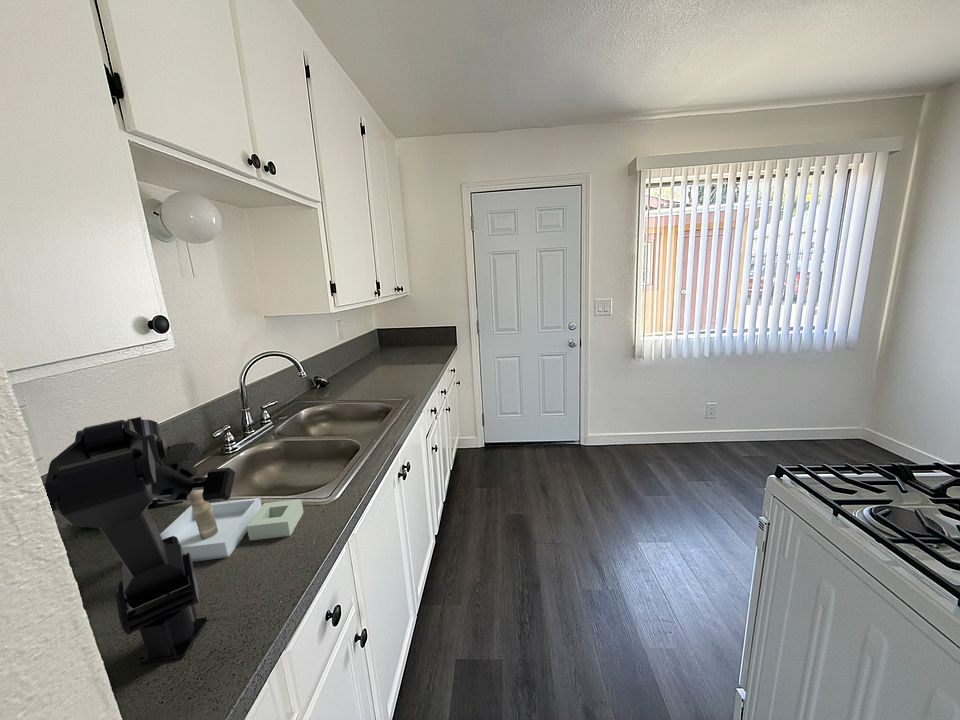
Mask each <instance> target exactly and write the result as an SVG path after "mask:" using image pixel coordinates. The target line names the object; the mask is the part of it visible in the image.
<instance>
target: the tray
mask: <svg viewBox="0 0 960 720" xmlns="http://www.w3.org/2000/svg"><path fill="white" fill-rule="evenodd" d="M262 505H263V504H262V501H261V498H260V497H257V498H256V497H255V498H249V499H238V500H237V499H236V500H227V501H221V502H212V503H211V507H212V510H213V514H214V517H215V521H216V525H217V528H218V532H217V533H216V534H215V535H214V536H212V537H209V538H206V539H202V538H201V537H200V533H199V530H198V527H197V523H196V520H195V516H194V513H193V509H192V506H191V505H190V506H188V507H187V508H186V510H185V511H183V512H182V513H181V514H179V516H178V517H177V518H176V519H175V520H174V521H173V522H172V523H171V524H169V526H167V527H166V528H165V529H164V530H163V531H162V532H161V533H160V535H161V537H162V539H166V538H168V537H171V536H175V537H177V538H178V541H179V544H180V545H181V546H182V548H183V550H184V553H185V554H187V553H190V555H191V559H192V563H193V562H200V561H209V560H216V559H218V560H219V559H227V558H229V557H230V556H231V554H232V553H233V552H234V551H235V550H236V548H237V546H238V545H239V544H240V542H241V541H242V540H243V538H245V536H246V534H248V531H247V525H248V524H249V522H250V521H251V520H252V518H253V517H254V516H255V514H256V513H257V512H258V511H259V509H260V508H261V507H262Z"/></svg>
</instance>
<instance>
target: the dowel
mask: <svg viewBox="0 0 960 720" xmlns="http://www.w3.org/2000/svg"><path fill="white" fill-rule="evenodd" d="M202 493H203V489H202V490H193V491H191V493H190V494H188V499H189V502H190V506H192V509H193V513H194V516H195V520H196V523H197V527H198V530H199V533H200V537H201V538H202V539H206V538H209V537H212V536H214V535H215V534H216V533H217V532H218V528H217V525H216V521H215V517H214V514H213V510H212V507H211V503H209V502H206V501H204V500H203V496H202Z"/></svg>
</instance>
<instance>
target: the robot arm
mask: <svg viewBox="0 0 960 720" xmlns="http://www.w3.org/2000/svg"><path fill="white" fill-rule="evenodd" d="M159 427H160V426H159V423H158V422H157V421H155V420H151V419H143V418H142V417H141V416H139V417H133V418H128V419H127V420H125V419H119V420H114V421H110V422H103V423H100V424H95V425H90V426H85V427H84V428H83V429H82V430H76V433H75V439H74V442H73V443H71V444H69V445H68V446H67V447H66V448H65V449H64V450H63V451H61V452H60V453H59V454H58V455H56V456H55V457H54V458H53V459H52V460H51V461H50V462H49V466H48V469H47V470H48V471H47V473H46V474H47V475H46V479H45V481H44V482H45V483H44V490H45V489H46V492H47V496H48V498H49V501H50V505H51V508H52V511H53V513H56V512H58V514H59V515H60V516H61V517H62V518H63V519H64V520H65V521H66V522H67V523H68V524H70V526H73V527H79V528H81V527H82V528H94V529H99V530H100V531H101V533H102V534H103V536H104V537H105V539H106V541H108V543H109V545H110V546H111V548H112V549H113V551H114V553H115V554H116V555H117V557H118V559H119V560H120V562H121V563H122V566H121V567H122V568H121V571H122V574H121V575H122V578H120V579H119V582H118V589H117V590H116V591H115V598H116V607H117V613H118V619H119V622H120V625H121V629H122V630H123V633H124V632H125V634H126V635H127V636H129V635H131V634H133V633H134V632H136V631H139V633H140V636H141V639H142V642H143V645H144V648H145V649H144V650H143V652H142V653H141V654H140V655H139V657H138V658H137V664H139V665H140V664H146V663H147V664H148V663H153V662H160V661H168V660H174V659H176V660H177V659H181V658H183V657H184V656H185V655H186V654H187V653H188V651H189V650H190V648H191V646H192V645H193V644H194V642H195V641H196V639H197V637H198V636H199V635H200V634H201V632H202V630H203V628H205V626H206V624H207V622H208V617H207V616H206V617H198V614H197V611H196V608H195V605H196V604H198V603H199V602H200V597H199V585H198V581H197V577H196V572H195V568H194V563H193V562H192V559H191V555H190V553H187V554H185V553H184V550H183V548H182V546H181V545H180V544H179V541H178V538H177V537H175V536H171V537H168V538H166V539H162V537H161V535H160V534H161V533H160V531H159V529H158V527H157V525H156V523H155V520H154V519H153V517H152V515H151V511H150V510H156V509H161V508H165V507H171V506H175V505H180V504H183V503H184V502H186V501H187V499H188V498H189V495H188V494H190V493H191V491H193V490H202V489H203V493H202V496H203V500H204V501H206V502H209V503H218V502H227V501H229V499H230V498H231V495H232V490H233V485H234V481H235V476H236V471H235V470H234V469H233V468H231V467H220V468H212V469H210V470H208V471H207V474H206V476H202V477H197V472H198V469H196V468H195V467H196V464H197V463H198V461H199V460H200V458H201V457H202V455H203V452H202V451H201V449H200V448H199V447H198V445H197V444H196V443H195V442H191V441H190V442H182V443H180V442H179V443H176V444H172V445H168V444H167V441H166V436H161V433H160V428H159ZM52 511H51V512H52Z"/></svg>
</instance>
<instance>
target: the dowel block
mask: <svg viewBox="0 0 960 720" xmlns="http://www.w3.org/2000/svg"><path fill="white" fill-rule="evenodd" d="M261 505H262V507H261V508H260V509H259V511H258V512H257V513H256V514H255V516H254V517H253V518H252V520H251V521H250V522H249V524H248V525H247V531H248V532H247V536H248V540H249V541H256V540H265V539H275V538H283V537H291V535H292V533H293V532H294V530H295V529H296V527H297V524H298V522H299V521H300V520H301V518H302V516H303V514H304V508H303V502H302V499H301V498H300V499H292V500H291V499H290V500H280V501H272V502H265V503H264V502H263V504H261Z"/></svg>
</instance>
